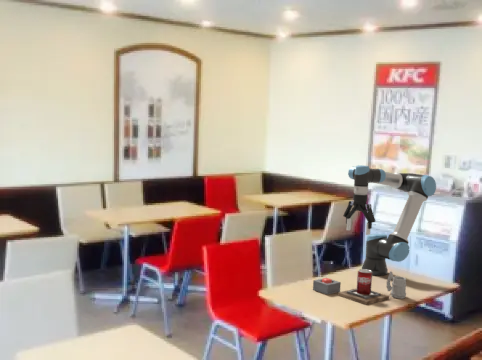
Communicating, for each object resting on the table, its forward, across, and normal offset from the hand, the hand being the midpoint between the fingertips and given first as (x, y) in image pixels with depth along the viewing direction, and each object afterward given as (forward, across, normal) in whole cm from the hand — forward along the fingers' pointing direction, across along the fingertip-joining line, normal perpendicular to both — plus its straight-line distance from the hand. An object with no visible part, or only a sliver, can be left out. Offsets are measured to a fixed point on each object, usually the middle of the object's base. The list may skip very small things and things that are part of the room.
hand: (358, 232), depth 321 cm
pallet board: (+29, +19, -16) cm, 38 cm away
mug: (+29, +26, +1) cm, 39 cm away
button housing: (+29, +1, -24) cm, 37 cm away
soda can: (+27, +19, -16) cm, 37 cm away
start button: (+28, +1, -24) cm, 37 cm away
